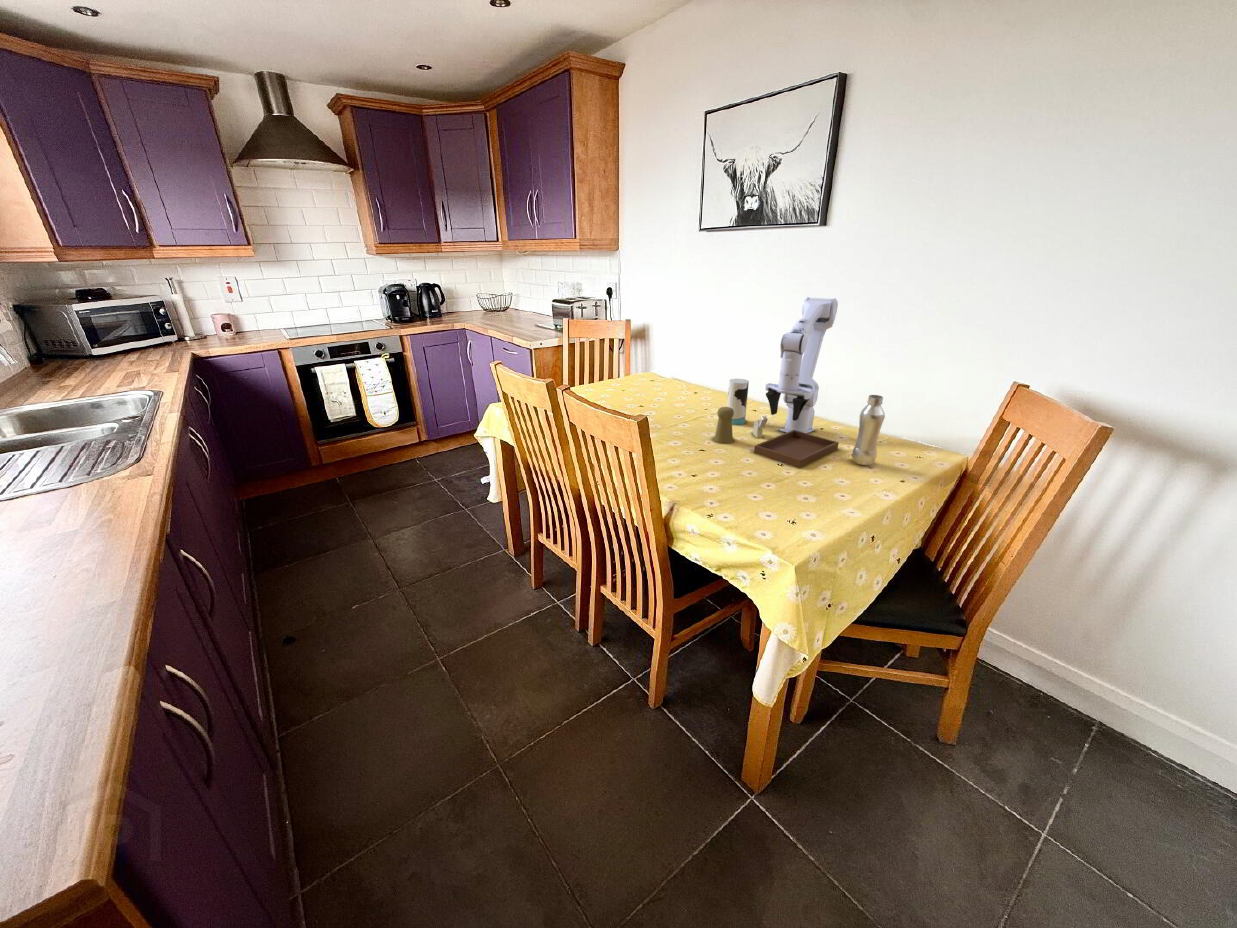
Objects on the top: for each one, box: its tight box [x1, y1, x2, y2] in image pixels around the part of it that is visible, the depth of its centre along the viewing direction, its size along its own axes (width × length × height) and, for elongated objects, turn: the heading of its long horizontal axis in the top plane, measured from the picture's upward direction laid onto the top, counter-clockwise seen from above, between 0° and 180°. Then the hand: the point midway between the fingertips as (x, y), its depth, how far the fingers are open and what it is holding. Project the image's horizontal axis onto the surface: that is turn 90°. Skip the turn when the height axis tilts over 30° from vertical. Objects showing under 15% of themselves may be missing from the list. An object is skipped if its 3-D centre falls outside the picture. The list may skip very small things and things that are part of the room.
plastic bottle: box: [851, 394, 886, 466], centre depth 141 cm, size 6×7×20 cm
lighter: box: [752, 415, 768, 439], centre depth 164 cm, size 7×2×8 cm, turn 5°
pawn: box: [713, 406, 734, 444], centre depth 162 cm, size 6×6×11 cm
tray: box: [753, 430, 839, 469], centre depth 154 cm, size 22×16×2 cm
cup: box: [726, 378, 750, 426], centre depth 178 cm, size 7×7×15 cm
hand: (784, 416), depth 155 cm, fingers open, 7 cm apart
